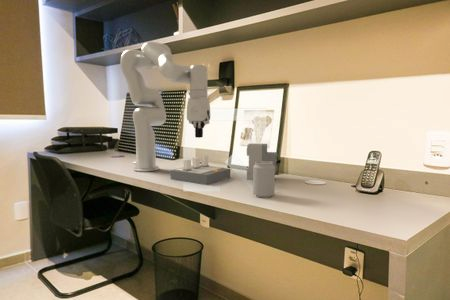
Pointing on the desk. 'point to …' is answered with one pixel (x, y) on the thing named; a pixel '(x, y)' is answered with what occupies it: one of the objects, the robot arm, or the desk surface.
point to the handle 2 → (204, 161)
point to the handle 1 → (187, 164)
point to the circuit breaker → (259, 157)
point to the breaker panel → (201, 174)
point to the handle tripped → (196, 162)
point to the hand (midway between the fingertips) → (199, 137)
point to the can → (263, 179)
